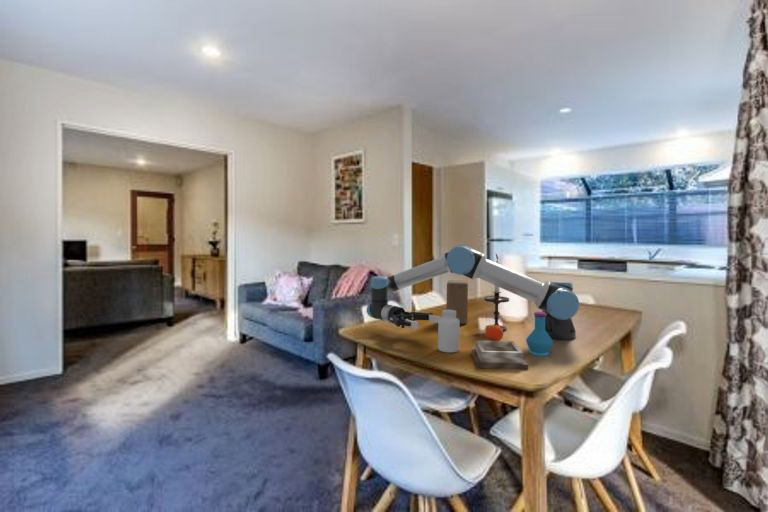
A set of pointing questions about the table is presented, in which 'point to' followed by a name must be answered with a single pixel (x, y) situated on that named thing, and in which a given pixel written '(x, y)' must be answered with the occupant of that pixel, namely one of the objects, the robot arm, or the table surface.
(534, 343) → the perfume bottle
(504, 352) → the bottle stand
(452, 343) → the pill bottle
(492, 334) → the red round lump
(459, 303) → the wooden block
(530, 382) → the table surface
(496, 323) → the candlestick
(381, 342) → the table surface
